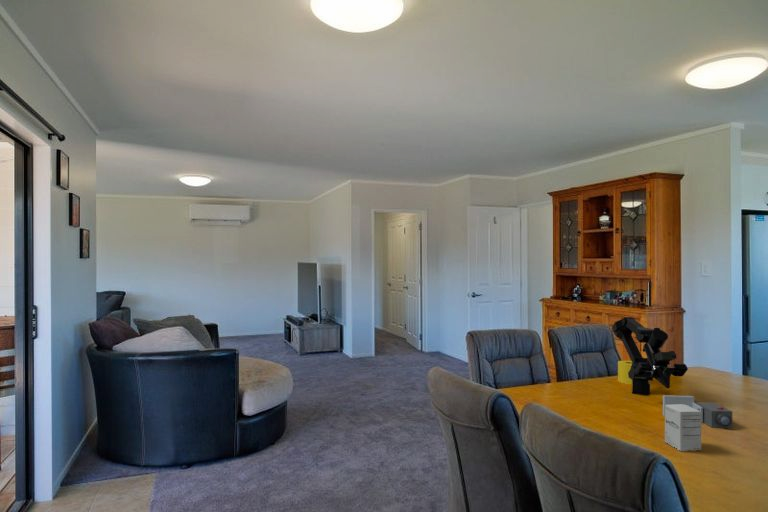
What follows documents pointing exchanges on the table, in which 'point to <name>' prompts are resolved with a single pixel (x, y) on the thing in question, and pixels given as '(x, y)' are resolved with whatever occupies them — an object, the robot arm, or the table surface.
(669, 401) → the side door
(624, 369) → the yellow paper roll
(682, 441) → the supplement box
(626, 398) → the table surface
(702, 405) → the camera body
